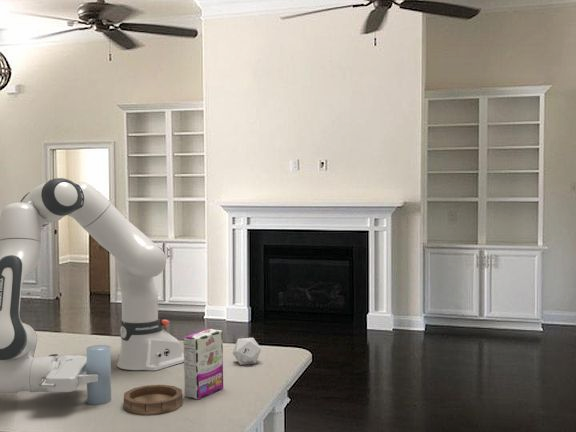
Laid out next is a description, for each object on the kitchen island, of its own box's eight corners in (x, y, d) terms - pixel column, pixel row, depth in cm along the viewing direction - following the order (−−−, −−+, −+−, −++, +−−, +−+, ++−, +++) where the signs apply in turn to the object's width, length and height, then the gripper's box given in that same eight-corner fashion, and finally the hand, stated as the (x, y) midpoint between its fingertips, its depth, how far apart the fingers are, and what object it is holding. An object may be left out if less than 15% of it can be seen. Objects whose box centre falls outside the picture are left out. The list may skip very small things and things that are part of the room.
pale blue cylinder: (104, 395, 169) (104, 343, 168) (115, 401, 165) (114, 347, 164) (83, 400, 165) (82, 347, 164) (93, 406, 161) (92, 351, 160)
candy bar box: (209, 385, 178) (209, 328, 177) (223, 388, 175) (223, 330, 174) (183, 396, 168) (182, 335, 167) (197, 400, 165) (197, 338, 165)
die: (227, 365, 201) (232, 345, 195) (237, 346, 207) (242, 327, 202) (250, 375, 200) (256, 356, 194) (260, 356, 206) (266, 337, 200)
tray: (163, 391, 173) (163, 381, 172) (193, 405, 162) (193, 394, 161) (113, 403, 163) (113, 393, 162) (142, 419, 152) (142, 407, 152)
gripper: (35, 374, 152) (94, 371, 154) (55, 352, 173) (107, 350, 174) (35, 399, 153) (94, 397, 154) (55, 374, 173) (107, 372, 175)
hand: (101, 372), depth 165 cm, fingers open, 8 cm apart
